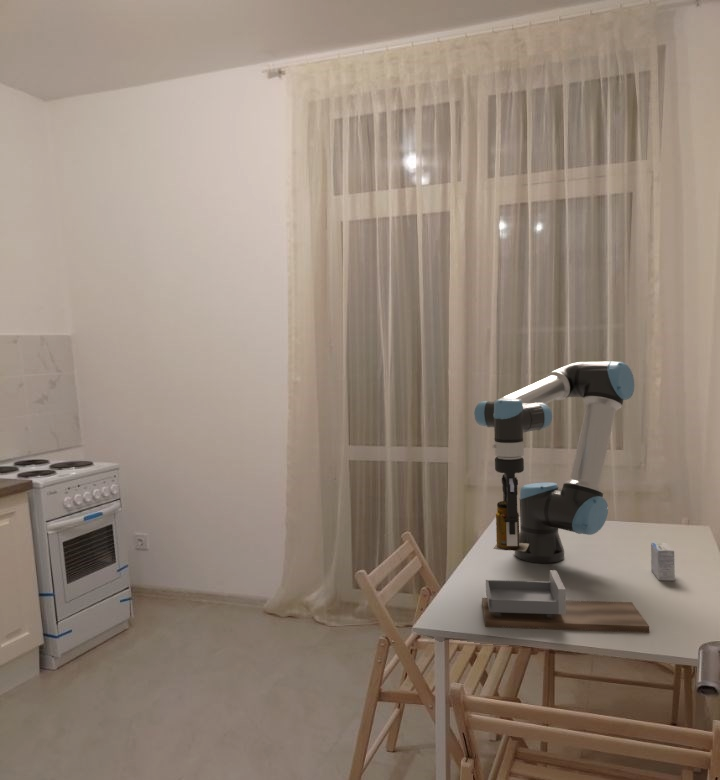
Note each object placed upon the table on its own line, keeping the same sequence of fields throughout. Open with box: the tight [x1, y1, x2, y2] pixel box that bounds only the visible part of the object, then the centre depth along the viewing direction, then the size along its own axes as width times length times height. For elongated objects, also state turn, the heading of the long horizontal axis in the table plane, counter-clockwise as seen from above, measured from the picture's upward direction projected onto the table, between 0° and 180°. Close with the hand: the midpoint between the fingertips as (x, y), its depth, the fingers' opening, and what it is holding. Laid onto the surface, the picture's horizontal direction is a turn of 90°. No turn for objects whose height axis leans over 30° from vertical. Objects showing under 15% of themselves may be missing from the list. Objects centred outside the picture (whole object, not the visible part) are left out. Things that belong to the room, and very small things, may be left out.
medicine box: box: [650, 542, 676, 582], centre depth 179 cm, size 8×4×9 cm, turn 168°
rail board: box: [481, 597, 650, 633], centre depth 153 cm, size 14×37×2 cm, turn 82°
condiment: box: [492, 500, 529, 552], centre depth 168 cm, size 7×8×12 cm
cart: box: [485, 569, 567, 620], centre depth 154 cm, size 13×18×8 cm
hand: (510, 541), depth 169 cm, fingers closed on condiment, 6 cm apart
